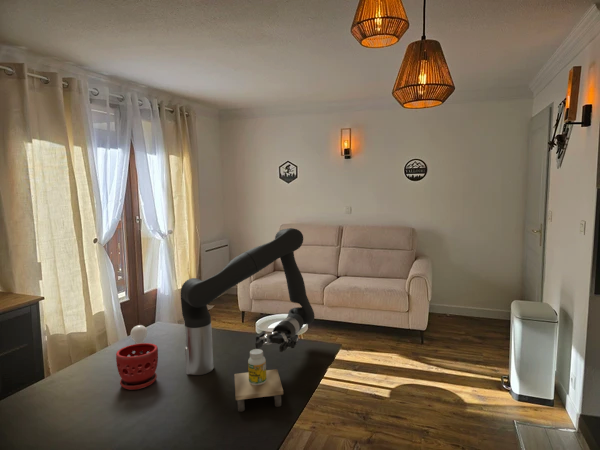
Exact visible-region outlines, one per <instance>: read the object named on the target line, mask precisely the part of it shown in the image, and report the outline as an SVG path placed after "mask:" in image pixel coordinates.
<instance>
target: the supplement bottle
mask: <svg viewBox="0 0 600 450" xmlns="http://www.w3.org/2000/svg"><path fill="white" fill-rule="evenodd" d="M266 361H267V360H266V357H265V356H264V351H263V349H260V348H259V349H256V348H255V349H251V350H250V351H249V358H248V360H247V369H248V371H247V373H248V372H249V383H250V384H252V385H262V384H264V383H265V382H266V370H267V362H266Z"/></svg>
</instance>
